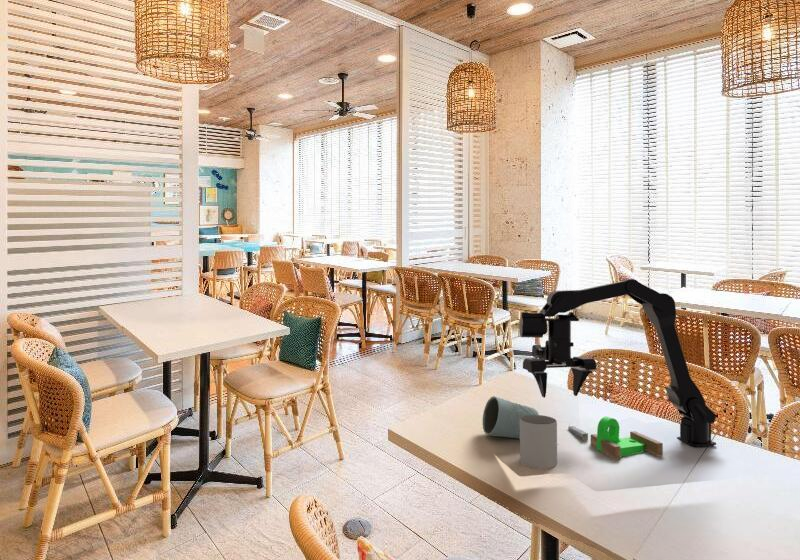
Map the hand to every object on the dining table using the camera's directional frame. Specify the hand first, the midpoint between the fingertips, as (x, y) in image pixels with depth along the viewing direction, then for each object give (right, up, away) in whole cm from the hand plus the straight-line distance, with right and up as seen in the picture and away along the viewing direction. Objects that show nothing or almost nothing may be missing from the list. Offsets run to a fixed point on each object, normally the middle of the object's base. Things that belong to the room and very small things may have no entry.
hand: (559, 396), depth 132 cm
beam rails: (+14, -12, -8) cm, 20 cm away
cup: (-10, -12, -16) cm, 22 cm away
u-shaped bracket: (0, -12, 0) cm, 12 cm away
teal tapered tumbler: (-7, -8, +1) cm, 11 cm away
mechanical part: (+14, -12, -8) cm, 20 cm away
